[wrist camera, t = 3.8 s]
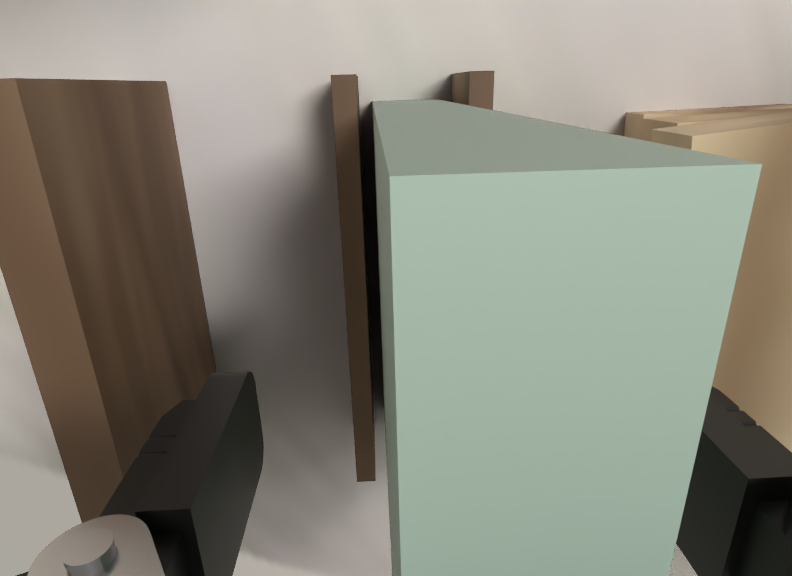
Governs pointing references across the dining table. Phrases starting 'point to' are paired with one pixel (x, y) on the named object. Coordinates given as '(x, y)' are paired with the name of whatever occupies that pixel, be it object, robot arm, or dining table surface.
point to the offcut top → (756, 268)
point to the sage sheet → (546, 337)
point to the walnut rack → (138, 264)
